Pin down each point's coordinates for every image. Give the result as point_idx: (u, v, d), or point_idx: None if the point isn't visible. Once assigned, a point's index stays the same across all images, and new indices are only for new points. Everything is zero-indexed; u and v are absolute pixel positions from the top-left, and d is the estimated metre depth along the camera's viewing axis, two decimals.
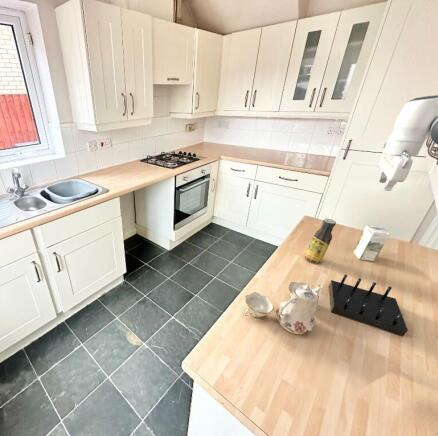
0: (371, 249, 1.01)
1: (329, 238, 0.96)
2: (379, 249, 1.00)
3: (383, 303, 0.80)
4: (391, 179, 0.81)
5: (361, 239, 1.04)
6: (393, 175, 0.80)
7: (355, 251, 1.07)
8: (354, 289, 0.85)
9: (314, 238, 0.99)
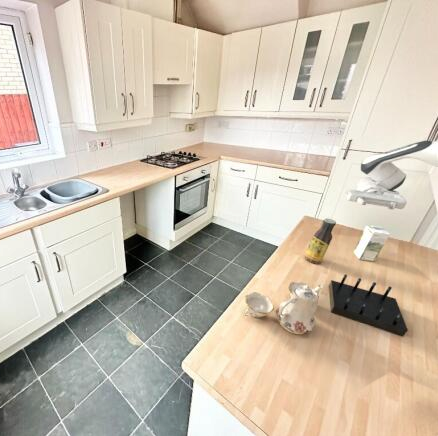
0: (371, 249, 1.01)
1: (329, 238, 0.96)
2: (379, 249, 1.00)
3: (383, 303, 0.80)
4: (347, 199, 1.14)
5: (361, 239, 1.04)
6: None
7: (355, 251, 1.07)
8: (354, 289, 0.85)
9: (314, 238, 0.99)
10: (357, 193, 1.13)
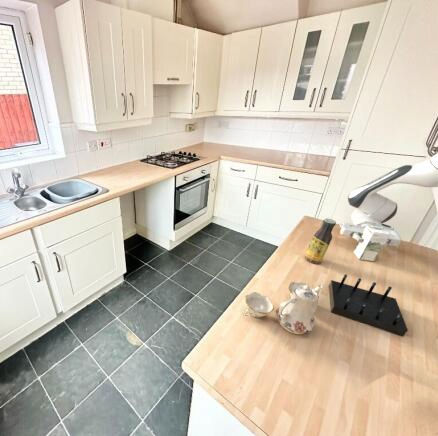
0: (371, 249, 1.01)
1: (329, 238, 0.96)
2: (379, 249, 1.00)
3: (383, 303, 0.80)
4: (341, 234, 1.10)
5: None
6: (340, 232, 1.12)
7: (355, 251, 1.07)
8: (354, 289, 0.85)
9: (314, 238, 0.99)
10: (351, 228, 1.09)
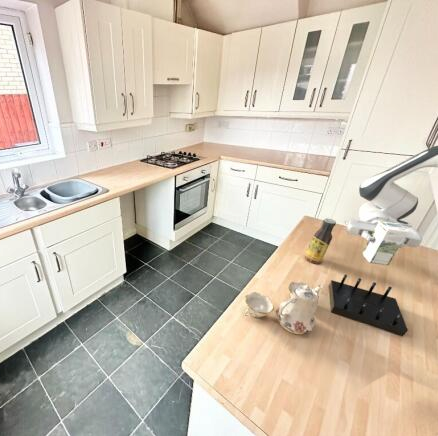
0: (384, 250, 0.82)
1: (329, 238, 0.96)
2: (395, 250, 0.81)
3: (383, 303, 0.80)
4: (347, 232, 0.92)
5: None
6: (346, 230, 0.93)
7: (364, 253, 0.89)
8: (354, 289, 0.85)
9: (314, 238, 0.99)
10: (359, 225, 0.90)
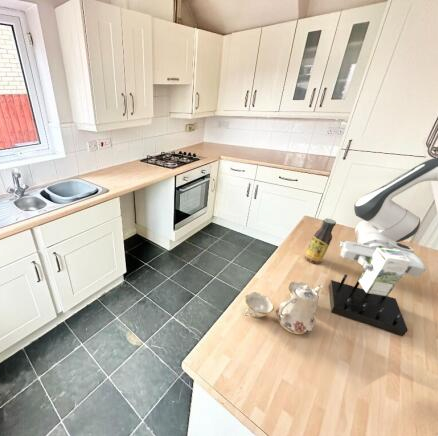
0: (383, 280, 0.73)
1: (329, 238, 0.96)
2: (395, 281, 0.72)
3: (383, 303, 0.80)
4: (342, 256, 0.82)
5: None
6: None
7: (361, 280, 0.79)
8: (354, 289, 0.85)
9: (314, 238, 0.99)
10: (355, 248, 0.81)
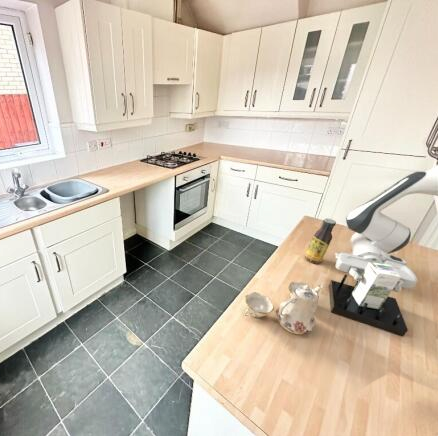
0: (375, 294, 0.75)
1: (329, 238, 0.96)
2: (386, 295, 0.74)
3: (383, 303, 0.80)
4: (337, 268, 0.85)
5: (362, 279, 0.79)
6: None
7: (354, 293, 0.82)
8: None
9: (314, 238, 0.99)
10: (349, 261, 0.83)
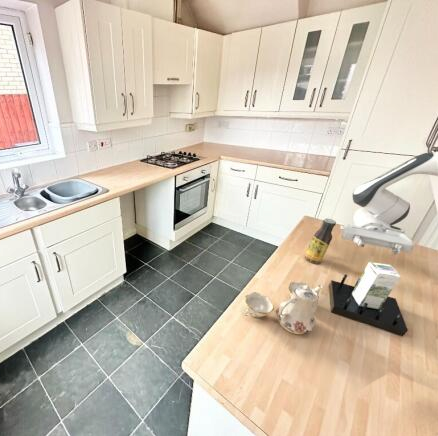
0: (375, 294, 0.75)
1: (329, 238, 0.96)
2: (386, 295, 0.74)
3: (383, 303, 0.80)
4: (342, 237, 0.94)
5: (362, 279, 0.79)
6: (341, 236, 0.95)
7: (354, 293, 0.82)
8: None
9: (314, 238, 0.99)
10: (353, 230, 0.92)
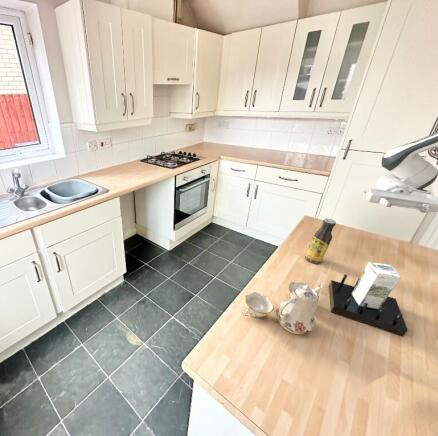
0: (375, 294, 0.75)
1: (329, 238, 0.96)
2: (386, 295, 0.74)
3: (383, 303, 0.80)
4: (367, 200, 0.95)
5: (362, 279, 0.79)
6: (366, 199, 0.96)
7: (354, 293, 0.82)
8: None
9: (314, 238, 0.99)
10: (379, 193, 0.93)
